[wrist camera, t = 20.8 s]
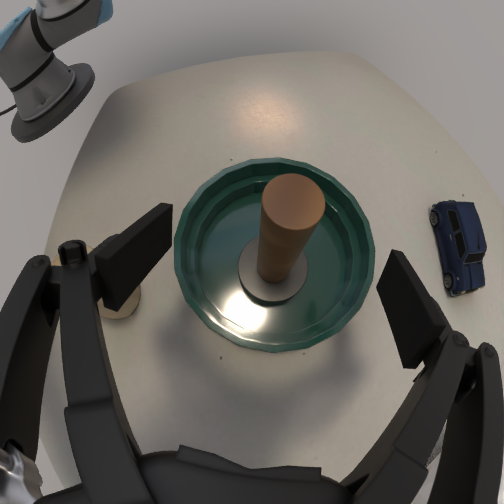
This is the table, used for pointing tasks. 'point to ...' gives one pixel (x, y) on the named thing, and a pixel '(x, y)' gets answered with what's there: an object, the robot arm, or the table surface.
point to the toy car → (460, 245)
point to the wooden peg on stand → (281, 240)
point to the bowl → (247, 228)
